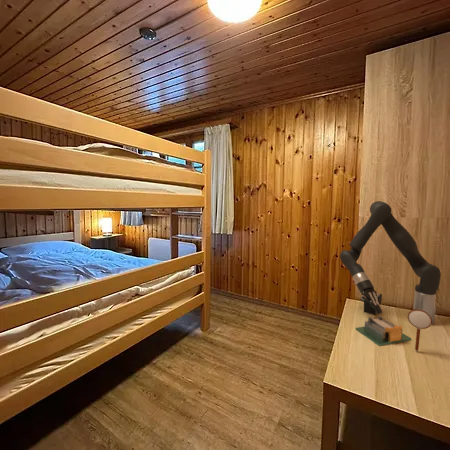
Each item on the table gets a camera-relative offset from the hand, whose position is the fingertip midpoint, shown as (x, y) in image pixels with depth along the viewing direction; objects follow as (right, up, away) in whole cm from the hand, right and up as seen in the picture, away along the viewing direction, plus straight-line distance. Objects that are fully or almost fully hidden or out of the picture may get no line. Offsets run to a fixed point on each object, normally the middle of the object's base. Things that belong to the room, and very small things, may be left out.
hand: (379, 313), depth 130 cm
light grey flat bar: (+1, -6, -2) cm, 6 cm away
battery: (+8, -8, +23) cm, 25 cm away
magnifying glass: (+7, -12, -15) cm, 21 cm away
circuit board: (+1, -11, -1) cm, 11 cm away
